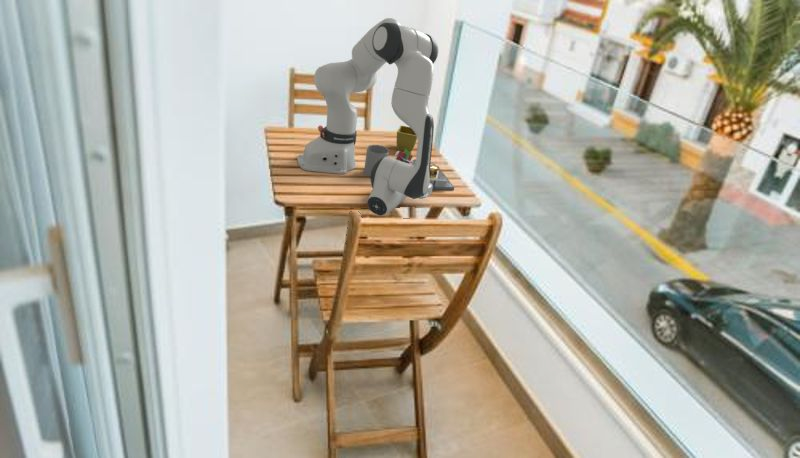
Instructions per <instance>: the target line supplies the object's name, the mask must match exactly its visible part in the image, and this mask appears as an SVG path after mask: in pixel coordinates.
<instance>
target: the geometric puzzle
mask: <svg viewBox="0 0 800 458" xmlns="http://www.w3.org/2000/svg"><path fill="white" fill-rule="evenodd" d="M413 156H414V155H412V153H411V152H409V151H408V150H407V149H405V151H402V150H401V151H400V150H397V151H396V152H395V154H394V159H397V160H400V161H402V162H405V163H408V164H412V161H413Z"/></svg>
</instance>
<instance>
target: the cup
mask: <svg viewBox="0 0 800 458" xmlns="http://www.w3.org/2000/svg"><path fill="white" fill-rule="evenodd" d="M389 153H390V150H389V148H387V147H386V146H383V145H379V144H370V145H368V146H366V152H365V161H364V168H363V173H364V175H365V176H367V177H369V178H371V171H372V168H373V166H374V165H375V163H376V162H377V161H378V160H380V159H381V158H383V157H385V156H387V157H389Z"/></svg>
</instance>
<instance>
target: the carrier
mask: <svg viewBox="0 0 800 458" xmlns="http://www.w3.org/2000/svg"><path fill="white" fill-rule="evenodd" d="M430 183H431V184H432V185H433V188H432V191H436V190H437V191H454V190H455V185H454V184H453V183H452V182H451V181H450V180H449V178H448V177H447V176H446V175H445V173H444V172H443V171H442V170H441V168H440V167H439V172H438V174H434V175H431V174H430Z"/></svg>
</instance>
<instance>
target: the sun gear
mask: <svg viewBox="0 0 800 458" xmlns="http://www.w3.org/2000/svg"><path fill="white" fill-rule="evenodd" d="M439 168H440V166H439V165H437V164H436V163H434V162H430V174H431V175H434V174H438V172H439Z"/></svg>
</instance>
